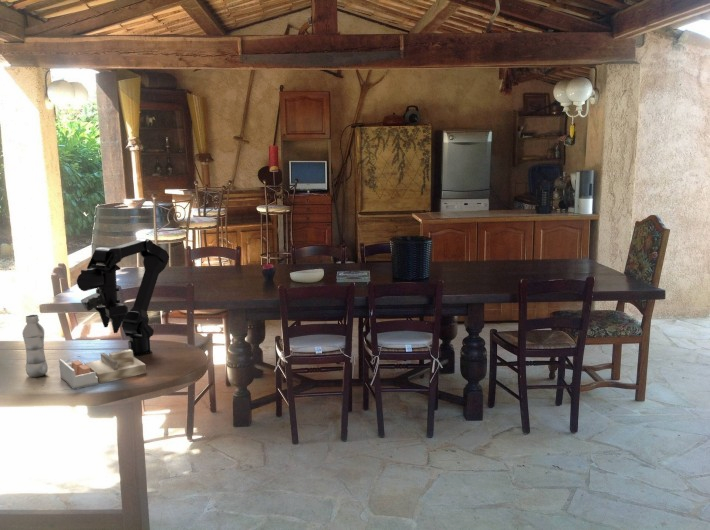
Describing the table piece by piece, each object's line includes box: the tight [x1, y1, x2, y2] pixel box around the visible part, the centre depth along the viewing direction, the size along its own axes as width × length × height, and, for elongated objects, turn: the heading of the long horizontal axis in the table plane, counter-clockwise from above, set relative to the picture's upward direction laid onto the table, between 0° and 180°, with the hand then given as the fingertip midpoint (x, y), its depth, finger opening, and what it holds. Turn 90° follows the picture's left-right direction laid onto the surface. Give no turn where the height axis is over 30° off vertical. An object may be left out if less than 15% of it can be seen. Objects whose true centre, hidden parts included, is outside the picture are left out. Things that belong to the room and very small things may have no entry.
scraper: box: [99, 348, 134, 370], centre depth 211 cm, size 8×12×4 cm
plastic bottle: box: [22, 314, 49, 378], centre depth 206 cm, size 6×7×20 cm
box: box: [58, 358, 99, 390], centre depth 203 cm, size 7×14×6 cm, turn 40°
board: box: [83, 356, 147, 385], centre depth 211 cm, size 15×14×3 cm
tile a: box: [71, 359, 84, 376], centre depth 206 cm, size 4×4×2 cm
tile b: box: [79, 364, 90, 375], centre depth 202 cm, size 4×4×2 cm
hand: (110, 330), depth 217 cm, fingers open, 9 cm apart
